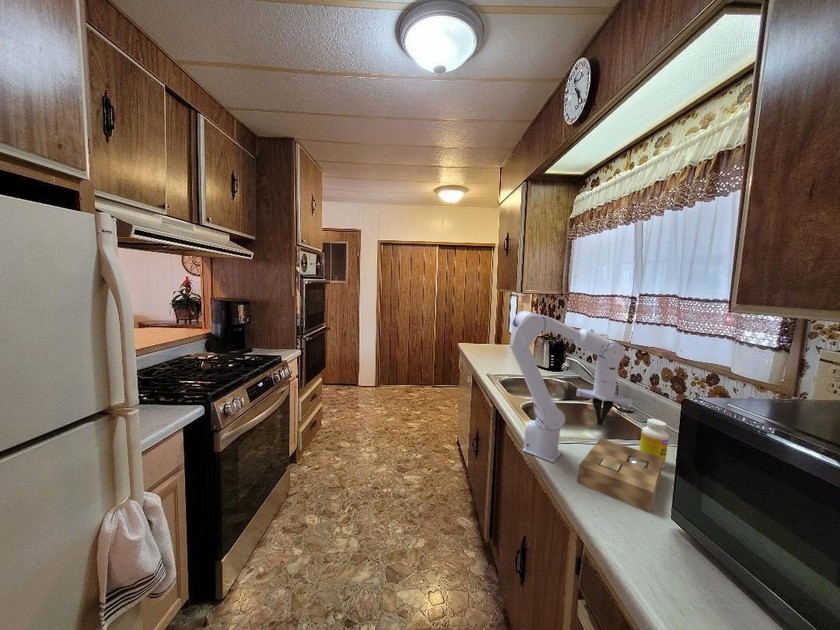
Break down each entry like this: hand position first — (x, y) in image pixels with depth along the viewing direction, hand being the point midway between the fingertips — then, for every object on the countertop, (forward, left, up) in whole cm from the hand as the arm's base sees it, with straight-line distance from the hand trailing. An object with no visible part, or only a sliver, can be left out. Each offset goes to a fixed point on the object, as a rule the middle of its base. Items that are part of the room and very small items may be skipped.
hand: (600, 424), depth 102 cm
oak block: (+8, -8, -10) cm, 15 cm away
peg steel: (+11, -5, -10) cm, 16 cm away
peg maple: (+6, -13, -10) cm, 17 cm away
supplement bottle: (+13, +9, -11) cm, 19 cm away
